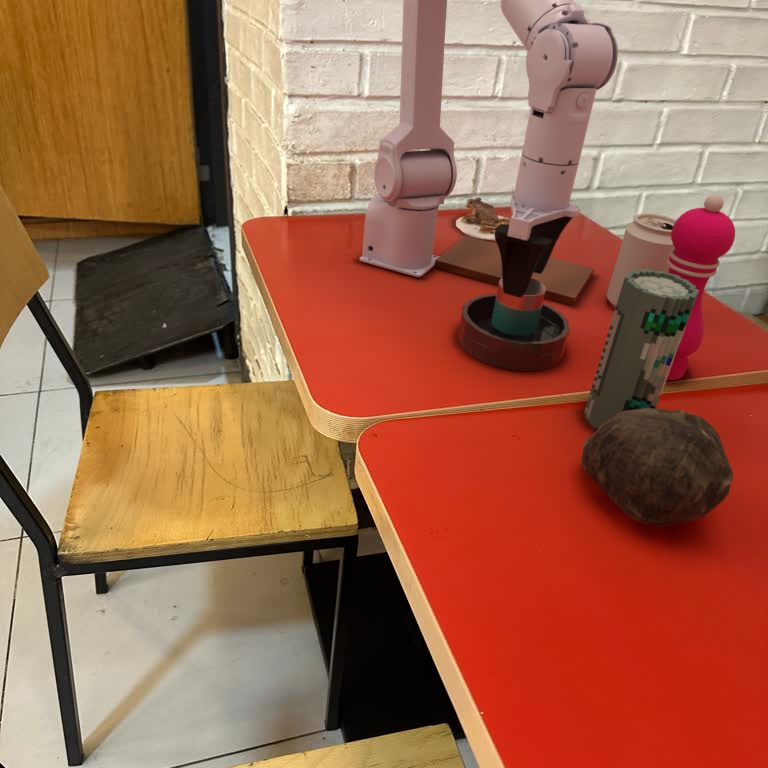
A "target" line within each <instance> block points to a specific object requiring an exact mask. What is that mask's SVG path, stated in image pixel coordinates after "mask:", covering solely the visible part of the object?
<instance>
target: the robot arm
mask: <svg viewBox="0 0 768 768" xmlns="http://www.w3.org/2000/svg"><path fill="white" fill-rule="evenodd" d="M447 6H448V0H403V2H402V31H401V33H402V34H401V60H400V61H401V62H400V63H401V65H400V90H399V91H400V92H399V93H400V94H399V96H400V97H399V121H398V122H399V123H398V124H397V125H396V126H395V127H394V128H393V129H392V130H391V131H390V132H388V133H387V134H386V135H384V136H383V137H382V138H381V139H380V140H379V142H378V143H379V144H378V153H377V160H376V163H375V165H374V171H373V177H374V178H373V179H374V185H375V188H376V191H377V192H378V193H376V194H374V195H373V196H372V198H371V199H370V200H369V202H368V205H367V208H366V212H365V217H364V227H363V228H364V229H363V240H362V251H361V256H359V262H361V263H362V262H363V263H365V264H368V265H372V266H375V267H379V268H383V269H387V270H390V271H394V272H396V273H397V272H398V273H401V274H405V275H408V276H411V277H415V278H421V277H423V276H424V275H426V274H427V273H428V272H429V271H430V270H431V269H433V268H434V265H435V260H436V259H437V258H438V257H439V256H440V255H436V254H433V251H434V245H435V239H436V238H435V236H436V229H437V223H438V214H439V207H440V205H444V204H445V198H446V197H449V196H450V195H451V194H452V192H453V191H454V188H455V186H456V183H457V178H458V168H457V164H456V160H455V159H456V158H455V141H454V140H453V138H452V137H450V135H449V134H448V133H446V131H444V129H443V128H442V126H441V114H442V96H443V77H444V62H445V43H446V25H447V8H448V7H447ZM500 10H501V13H502V15H503V16H504V18H505V19H506V21H507V23H508V24H509V26H510V27H511V29H512V31H513V32H514V34H515V35H516V37H517V38H518V39H519V41H520V43H521V44H522V46H523V47H524V49H525V51H526V56H525V57H526V58H525V69H526V75H527V78H528V79H527V80H528V84H529V85H528V91H527V97H526V99H527V100H528V107H530V109H529V114H528V119H527V125H526V130H525V134H524V141H523V146H522V150H521V151H522V152H521V156H520V161H519V165H518V171H517V175H516V176H517V177H516V182H515V188H514V191H513V194H512V195H511V199H510V202H509V203H510V210H511V216H510V219H511V220H510V225H509V226H508V225H504V224H500V225H499V226H498V227H497V228H496V229H495V240H496V241H495V243H496V244H497V245H498V248H499V251H500V256H501V262H502V283H503V293H505V294H508V295H512V296H516V297H519V298H522V296H523V295H524V293H525V292H526V290H527V288H528V285H529V283H530V280H531V277H532V275H533V272H535V273H538V274H541V273H542V272H543V270H544V268H545V266H546V264H547V262H548V260H549V258H550V257H551V255H552V253H553V251H554V248H555V246H556V244H557V242H558V241H559V238H560V236H561V235H562V233H563V231H564V230H565V229H566V227H567V226H568V224H569V223H570V222H571V220H572V219H574V218H577V217H578V216H579V215H580V212H581V207H580V206H578V205H575V204H571V203H570V201H571V198H572V193H573V189H574V185H575V181H576V178H577V177H576V176H577V173H578V168H579V164H580V161H581V155H582V152H583V148H584V144H585V140H586V134H587V131H588V126H589V122H590V118H591V114H592V110H593V105H594V102H595V98H596V93H597V91H598V90H600V89H602V88H603V87H604V86H606V85H607V84H608V82H609V81H611V79H612V77H613V75H614V73H615V70H616V68H617V64H618V59H619V46H618V45H619V44H618V41H617V39H616V36H615V34H614V32H613V29H612V27H611V25H609V24H608V23H605V22H592V21H591V18H586V16H585V15H584V14H585V10H584V9H583V7H582V6H581V5H580V4H577V3H576V2H575V1H574V0H500Z"/></svg>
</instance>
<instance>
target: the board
mask: <svg viewBox="0 0 768 768" xmlns="http://www.w3.org/2000/svg"><path fill="white" fill-rule="evenodd" d="M438 256H439V257H438V258H437V259H436V260H435V265H434V267H433V268H434V269H437V270H442V271H445V272H449V273H452V274H455V275H460V276H462V277H466V278H470V279H474V280H477V281H481V282H485V283H488V284H491V285H494V286H495V285H496V286H498V285H499V281H500V279H501V278H502V262H501V256H500V251H499V248H498V245H497V242H492V241H489V240H486V239H480V238H474V237H471V236H469V235H464V236H462V237H461V238H460V239H459V240H458V241H456V242H455V243H454V244H453V245H451V247H449V248H448V249H447V250H445V251H444V252H443V253H441V255H438ZM594 271H595V268H593V267H590V266H586V265H582V264H578V263H573V262H570V261H566V260H562V259H558V258H554V257H551V256H550V258H549V260H548V262H547V264H546V266H545V268H544V270H543V272H542V273H541V274H538V273H535V272H533V275H532V277H531V278H532V279H535V280H537V281H539V282H541V283H542V284H543V285H544V286H545V287H546V292H545V296H544V299H546V300H550V301H553V302H557V303H561V304H564V305H568V306H571V307H574V305H575V304H576V302H577V301H578V299H579V298H580V296H581V294H582V293H583V292H584V290H585V288H586V286H587V285H588V283H589V282H590V280H591V279H592V277H593V274H594Z"/></svg>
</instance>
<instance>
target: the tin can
mask: <svg viewBox="0 0 768 768" xmlns="http://www.w3.org/2000/svg"><path fill="white" fill-rule="evenodd" d="M545 292H546V287H545V286H544V285H543V284H542V283H541V282H539V281H537V280H535V279H532V278H531V280H530V283H529V285H528V288H527V290H526V292H525V293H524V295H523V296H522V298H519V297H516V296H512V295H508V294H505V293H503V283H502V278H501V279H500V281H499V285H497V291H496V294H497V295H496V298H495V303H494V308H493V313H492V318H491V326H490V331H489V333H491V334H493V335H497V336H500V337H503V338H507V339H512V340H519V341H534V338H535V334H536V331H537V327H538V323H539V319H540V315H541V311H542V306H543V303H544V300H545V298H544V296H545Z"/></svg>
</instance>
